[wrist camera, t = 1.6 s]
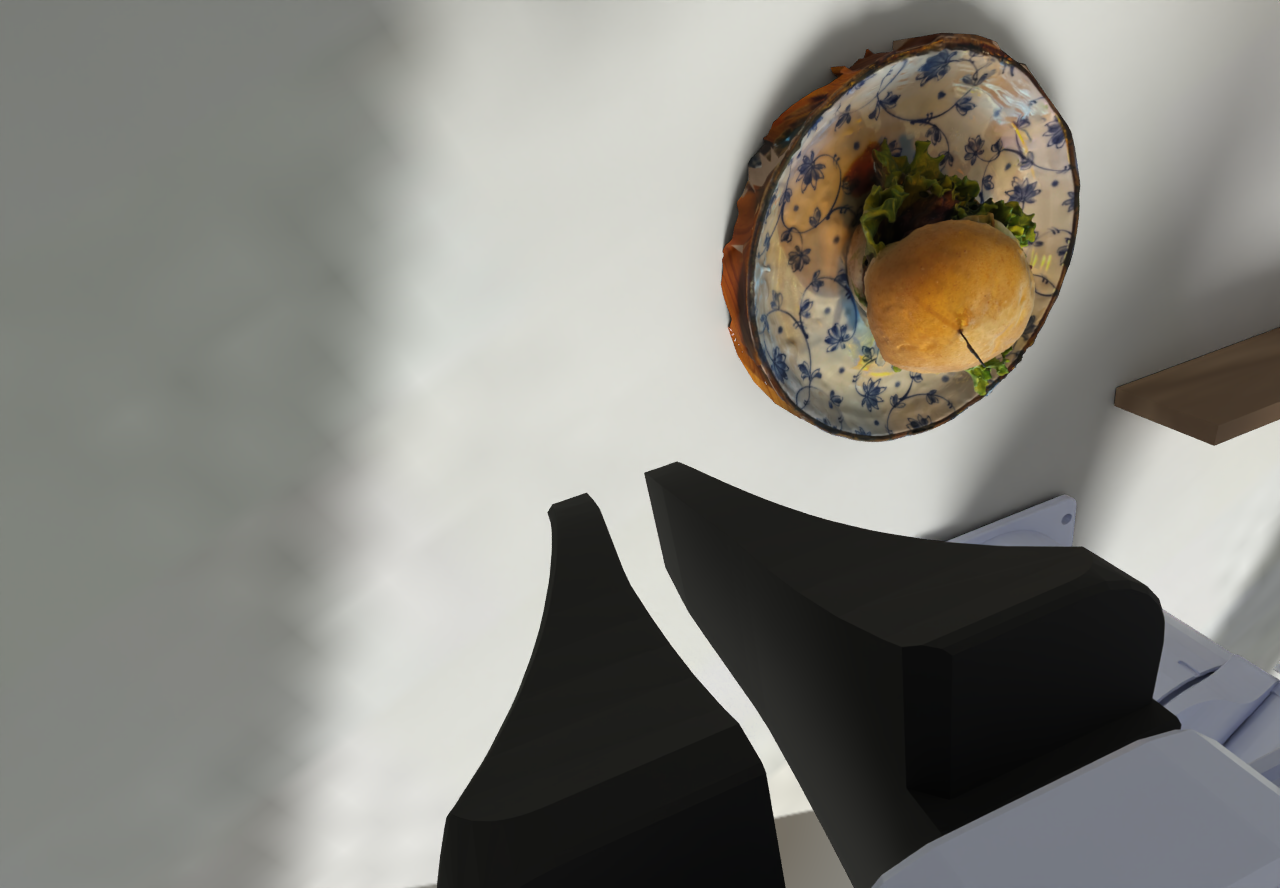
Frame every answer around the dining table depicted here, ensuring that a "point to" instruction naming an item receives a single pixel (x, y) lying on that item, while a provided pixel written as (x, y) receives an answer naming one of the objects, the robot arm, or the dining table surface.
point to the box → (1213, 391)
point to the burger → (902, 238)
